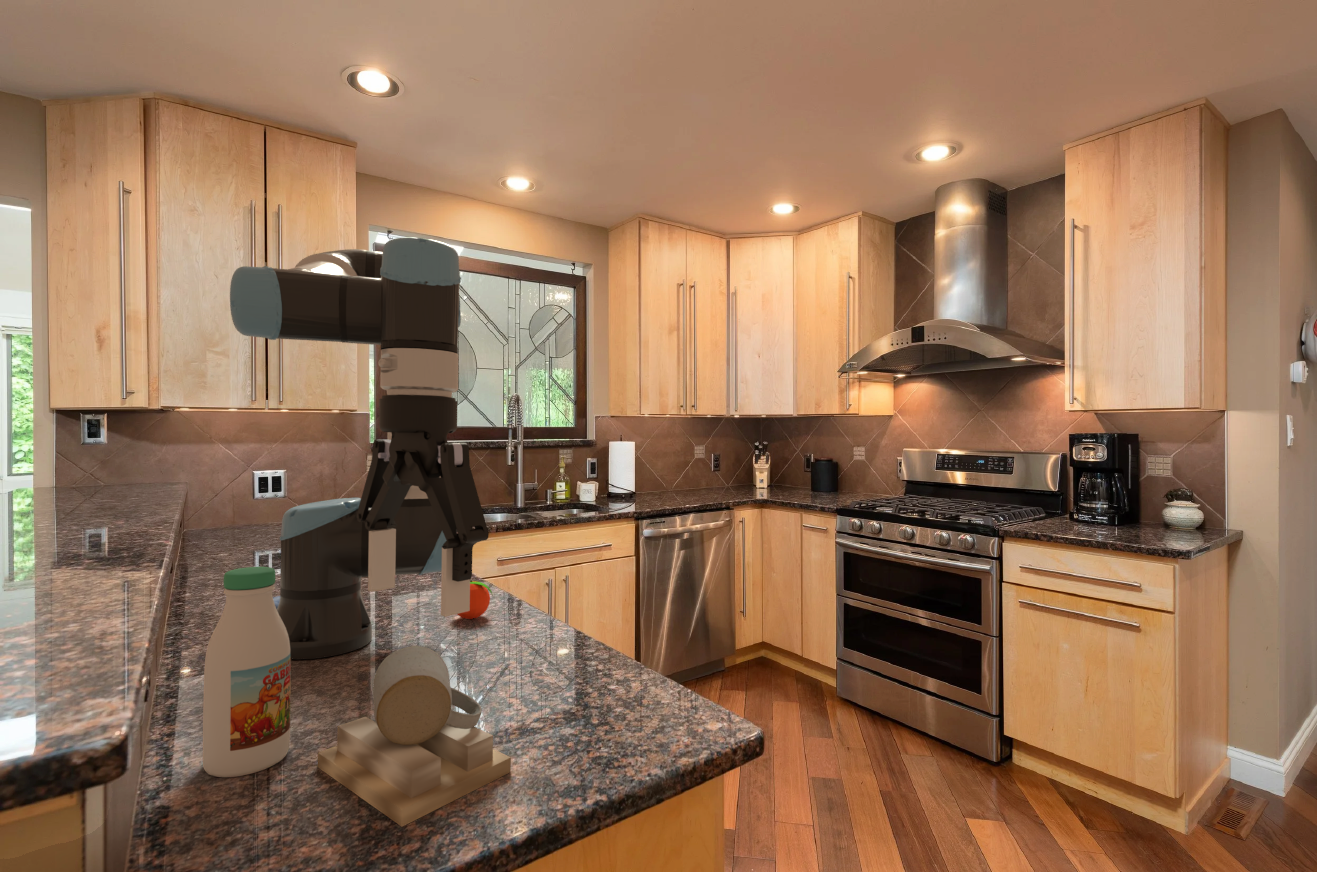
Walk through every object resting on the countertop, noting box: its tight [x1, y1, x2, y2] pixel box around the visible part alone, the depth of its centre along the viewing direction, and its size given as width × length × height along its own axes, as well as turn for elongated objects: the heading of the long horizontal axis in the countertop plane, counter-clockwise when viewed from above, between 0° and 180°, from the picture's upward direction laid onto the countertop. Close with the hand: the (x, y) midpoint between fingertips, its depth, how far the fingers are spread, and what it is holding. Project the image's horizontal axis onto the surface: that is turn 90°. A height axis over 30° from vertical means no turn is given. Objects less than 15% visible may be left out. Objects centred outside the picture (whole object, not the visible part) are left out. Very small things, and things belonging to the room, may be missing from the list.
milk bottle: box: [202, 566, 292, 778], centre depth 68 cm, size 8×8×20 cm
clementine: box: [456, 579, 494, 620], centre depth 121 cm, size 8×7×7 cm
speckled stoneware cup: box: [372, 645, 483, 745], centre depth 67 cm, size 11×8×8 cm
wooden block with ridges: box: [317, 716, 512, 828], centre depth 66 cm, size 16×12×4 cm
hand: (416, 600), depth 67 cm, fingers open, 13 cm apart
